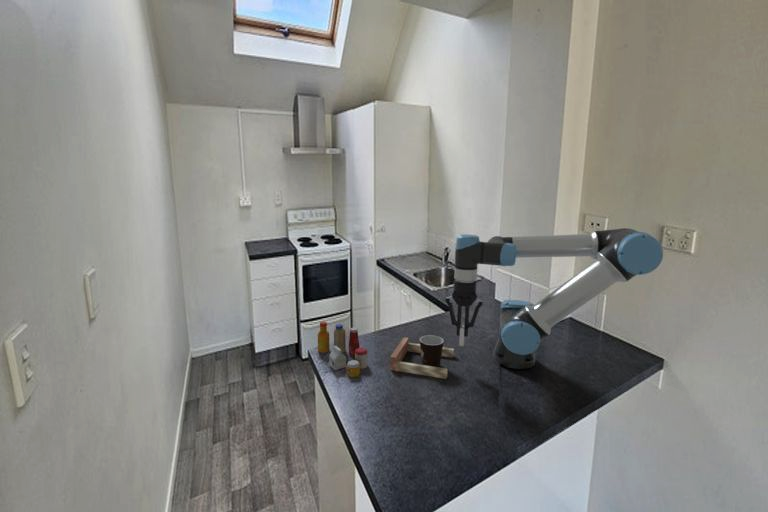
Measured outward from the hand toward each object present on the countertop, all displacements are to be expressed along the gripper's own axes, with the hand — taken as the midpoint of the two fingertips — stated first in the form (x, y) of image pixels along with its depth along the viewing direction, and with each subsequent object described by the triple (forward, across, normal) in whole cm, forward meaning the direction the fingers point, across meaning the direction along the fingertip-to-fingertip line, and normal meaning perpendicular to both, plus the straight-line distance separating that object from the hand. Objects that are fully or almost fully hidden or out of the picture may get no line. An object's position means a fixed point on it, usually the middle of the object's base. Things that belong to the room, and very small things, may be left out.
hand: (461, 344), depth 132 cm
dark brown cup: (+10, +11, 0) cm, 14 cm away
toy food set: (+10, +42, +7) cm, 44 cm away
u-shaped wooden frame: (+9, +13, 0) cm, 16 cm away
